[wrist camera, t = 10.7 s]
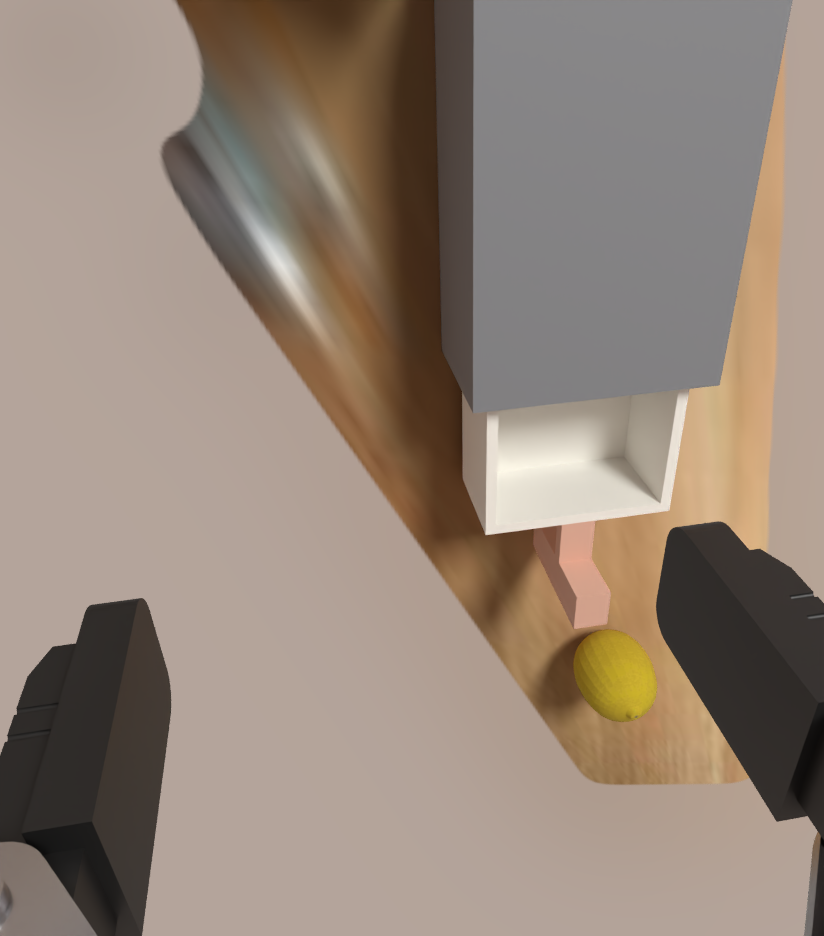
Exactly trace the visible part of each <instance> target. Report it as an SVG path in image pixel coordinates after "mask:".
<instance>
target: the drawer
mask: <svg viewBox="0 0 824 936" xmlns="http://www.w3.org/2000/svg"><path fill="white" fill-rule="evenodd" d="M688 395H689V389H682V390H674V391H665V392H656V393H647V394H639V395H630V396H621V397H612V398H604V399H595V400H586V401H577V402H569V403H560V404H551V405H542V406H534V407H525V408H516V409H507V410H499V411H490V412H481V413H473V412H472V410H471V408H470V406H469V404H468V402H467V400H466V398H465V396H464V394H463V392H462V441H463V481H464V483H465V486H466V488H467V491H468V493H469V496H470V498H471V501H472V503H473V505H474V508H475V510H476V513H477V515H478V518H479V520H480V523H481V525H482V527H483V530H484V532H485V535H491V534H498V533H506V532H513V531H521V530H528V529H534V538H533V546H534V548H535V550H536V552H537V554H538V556H539V559H540V561H541V563H542V565H543V567H544V569H545V571H546V573H547V575H548V577H549V579H550V581H551V583H552V585H553V587H554V589H555V591H556V593H557V596H558V598H559V600H560V602H561V604H562V606H563V608H564V610H565V612H566V614H567V616H568V618H569V620H570V622H571V624H572V626H573V628H574V629H577V628H584V627H590V626H597V625H604V624H607V620H608V612H609V604H610V596H611V592H610V590H609V588H608V587H607V585H606V583H605V581H604V580H603V578H602V576H601V574H600V573H599V571H598V569H597V568H596V566H595V564H594V562H593V561H592V559H591V557H592V547H593V538H594V528H595V521H596V520H603V519H611V518H618V517H626V516H633V515H641V514H648V513H656V512H663V511H669V508H670V502H671V496H672V490H673V484H674V478H675V472H676V466H677V460H678V454H679V448H680V443H681V437H682V431H683V425H684V419H685V413H686V407H687V401H688Z"/></svg>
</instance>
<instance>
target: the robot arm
mask: <svg viewBox="0 0 824 936" xmlns="http://www.w3.org/2000/svg"><path fill="white" fill-rule="evenodd" d="M656 611H657V619H658V624H659V627H660V630H661V633H662V636H663V638H664V640H665V642H666V643H667V645H668V647H669V648H670V650H671V651H672V653H673V655H674V656H675V658H676V659H677V661H678V663H679V664H680V666H681V668H682V669H683V671H684V672H685V674H686V676H687V677H688V679H689V680H690V682H691V684H692V685H693V687H694V689H695V690H696V692H697V693H698V695H699V697H700V698H701V700H702V702H703V703H704V705H705V706H706V708H707V710H708V711H709V713H710V714H711V716H712V718H713V719H714V721H715V723H716V724H717V726H718V727H719V729H720V731H721V732H722V734H723V735H724V737H725V739H726V740H727V742H728V744H729V745H730V747H731V748H732V750H733V752H734V753H735V755H736V756H737V758H738V760H739V761H740V763H741V765H742V766H743V768H744V769H745V771H746V773H747V774H748V776H749V778H750V779H751V781H752V782H753V784H754V786H755V787H756V789H757V790H758V792H759V794H760V795H761V797H762V799H763V800H764V802H765V803H766V805H767V807H768V808H769V810H770V811H771V813H772V815H773V816H774V818H775V820H776V821H783V820H788V819H794V818H799V817H805V816H808V817H809V819H810V820H811V821H812V823H813V825H814V826H815V827H816V829H817V831H818V833H817V835H816V837H815V840H814V844H813V851H812V861H811V872H810V882H809V892H808V902H807V913H806V923H805V933H804V936H824V603H823V602H822V601H821V600H820V599H819V598H818V597H814V595H813V591H812V590H811V589H810V588H809V587H808V586H807V585H806V583H805V582H803V580H802V579H801V578H800V577H799V576H798V575H797V574H796V573H795V571H794V570H793V569H792V568H791V567H789V566H787V565H786V564H784V563H782V562H780V561H779V560H777V559H776V558H774V557H772V556H771V555H769V554H767V553H766V552H764V551H763V550H761V549H755V550H749V549H748V548H747V547H746V546H745V545H744V543H743V542H742V541H741V540H740V539H739V538H738V537H737V535H736V534H735V533H734V532H733V531H732V530H731V528H730V527H729V526H728V525H726V524H725V523H723V522H711V523H704V524H696V525H689V526H682V527H675V528H673V529H672V530H671V531H670V532H669V534H668V537H667V542H666V548H665V554H664V560H663V565H662V571H661V577H660V583H659V589H658V595H657V602H656ZM170 715H171V690H170V683H169V676H168V671H167V668H166V665H165V661H164V658H163V654H162V651H161V647H160V644H159V641H158V638H157V634H156V631H155V627H154V624H153V621H152V617H151V614H150V610H149V607H148V605H147V603H146V601H145V600H144V599H143V598H139V599H133V600H125V601H117V602H110V603H103V604H95V605H90V606H89V607H88V608H87V610H86V612H85V615H84V618H83V622H82V625H81V629H80V632H79V636H78V639H77V642H76V644H69V645H62V646H55V647H52V648H51V650H50V651H49V652H48V653H47V654H46V655H45V657H44V658H43V659H42V660H41V661H40V662H39V664H38V665H37V666H36V667H35V669H34V670H33V671H32V672H31V673H30V674H29V676H28V677H27V680H26V683H25V686H24V689H23V691H22V694H21V697H20V700H19V703H18V706H17V715H14V717H13V720H12V723H11V726H10V729H9V732H8V735H7V736H8V741H7V742H5V743H4V746H3V749H2V752H1V755H0V936H142V931H143V923H144V916H145V908H146V900H147V893H148V884H149V877H150V869H151V862H152V854H153V846H154V839H155V831H156V823H157V816H158V807H159V800H160V793H161V784H162V777H163V769H164V762H165V754H166V747H167V738H168V731H169V723H170Z"/></svg>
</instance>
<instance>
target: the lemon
mask: <svg viewBox="0 0 824 936" xmlns="http://www.w3.org/2000/svg"><path fill="white" fill-rule="evenodd" d="M573 667H574V675H575V680H576V683H577V685H578V687H579V689H580V691H581V693H582V695H583V696H584V698H585V700H586V701H587V702H588V704H589V705H590V706H591V707H592V708H593V709H594V710H595V711H596V712H598V713H599V714H600V715H601V716H603V717H605V718H607V719H609V720H612V721H618V722H629V721H633V720H636V719H638V718H640V717H642V716H643V715H644V714H645V713H647V712H648V710H649V709H650V708H651V706H652V705H653V703H654V700H655V698H656V692H657V681H656V676H655V672H654V669H653V665H652V663H651V661H650V659H649V657H648V655H647V654H646V652H645V651H644V649H643V648H642V647H641V645H640V644H639V643H638V642H637V641H636V640H634V639H633V638H632V637H630V636H629V635H627V634H625V633H623V632H620V631H617V630H608V629H606V630H599V631H596V632H594V633H592V634H590V635H588V636H587V637H586V638H584V640H583V641H582V642H581V643H580V644H579V646H578V648H577V650H576V652H575V657H574V661H573Z"/></svg>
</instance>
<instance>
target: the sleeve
mask: <svg viewBox="0 0 824 936" xmlns="http://www.w3.org/2000/svg"><path fill="white" fill-rule="evenodd" d="M791 5H792V0H434V16H435V62H436V108H437V154H438V200H439V245H440V291H441V337H442V352H443V354H444V356H445V358H446V360H447V362H448V364H449V366H450V368H451V370H452V372H453V374H454V376H455V378H456V380H457V382H458V384H459V386H460V388H461V390H462V392H463V394H464V396H465V398H466V400H467V402H468V404H469V406H470V408H471V410H472V412H473V413H481V412H490V411H499V410H507V409H516V408H525V407H534V406H542V405H551V404H560V403H569V402H577V401H586V400H595V399H604V398H612V397H621V396H630V395H639V394H647V393H656V392H665V391H674V390H682V389H691V388H700V387H709V386H718V385H720V380H721V375H722V369H723V364H724V359H725V354H726V348H727V343H728V338H729V332H730V327H731V322H732V317H733V311H734V306H735V301H736V296H737V290H738V285H739V280H740V274H741V269H742V264H743V259H744V253H745V248H746V243H747V237H748V232H749V227H750V222H751V216H752V211H753V206H754V201H755V195H756V190H757V185H758V179H759V174H760V169H761V164H762V158H763V153H764V148H765V143H766V137H767V132H768V127H769V121H770V116H771V111H772V106H773V100H774V95H775V90H776V84H777V79H778V74H779V69H780V63H781V58H782V53H783V48H784V42H785V37H786V32H787V26H788V21H789V16H790V11H791Z"/></svg>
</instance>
